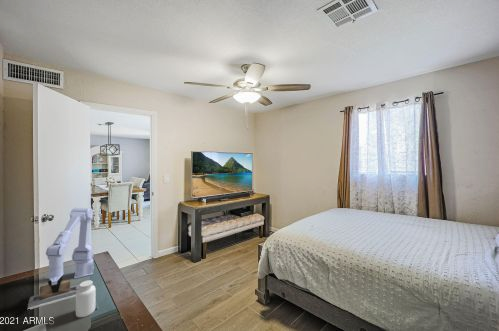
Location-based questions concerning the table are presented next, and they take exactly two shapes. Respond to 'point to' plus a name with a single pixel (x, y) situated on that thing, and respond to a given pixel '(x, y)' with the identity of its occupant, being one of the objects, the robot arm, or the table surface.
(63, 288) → the door panel
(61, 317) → the table surface
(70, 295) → the track
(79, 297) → the pill bottle
